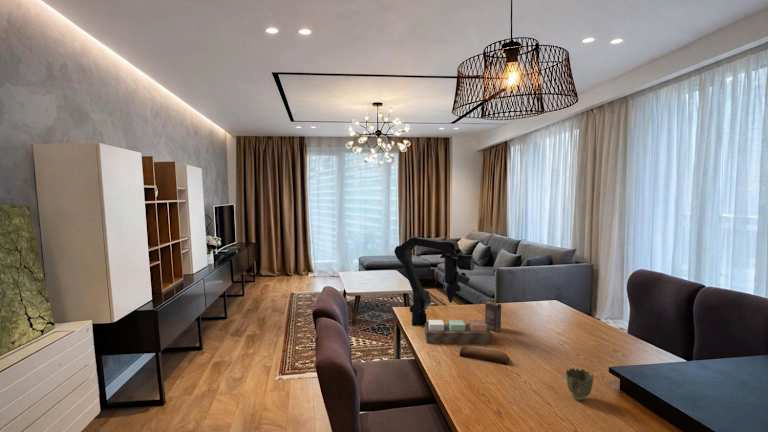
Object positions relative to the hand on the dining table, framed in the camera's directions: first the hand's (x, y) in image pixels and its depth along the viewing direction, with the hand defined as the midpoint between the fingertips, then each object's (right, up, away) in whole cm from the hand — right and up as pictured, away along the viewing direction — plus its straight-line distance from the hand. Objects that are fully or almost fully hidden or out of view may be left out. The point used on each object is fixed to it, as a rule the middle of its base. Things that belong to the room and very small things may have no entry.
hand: (450, 302), depth 168 cm
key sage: (+1, -11, -9) cm, 15 cm away
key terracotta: (+10, -11, -10) cm, 18 cm away
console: (+1, -14, -9) cm, 16 cm away
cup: (+29, -17, -56) cm, 65 cm away
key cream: (-8, -11, -9) cm, 16 cm away
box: (+20, -13, +2) cm, 24 cm away
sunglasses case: (+8, -15, -27) cm, 32 cm away
